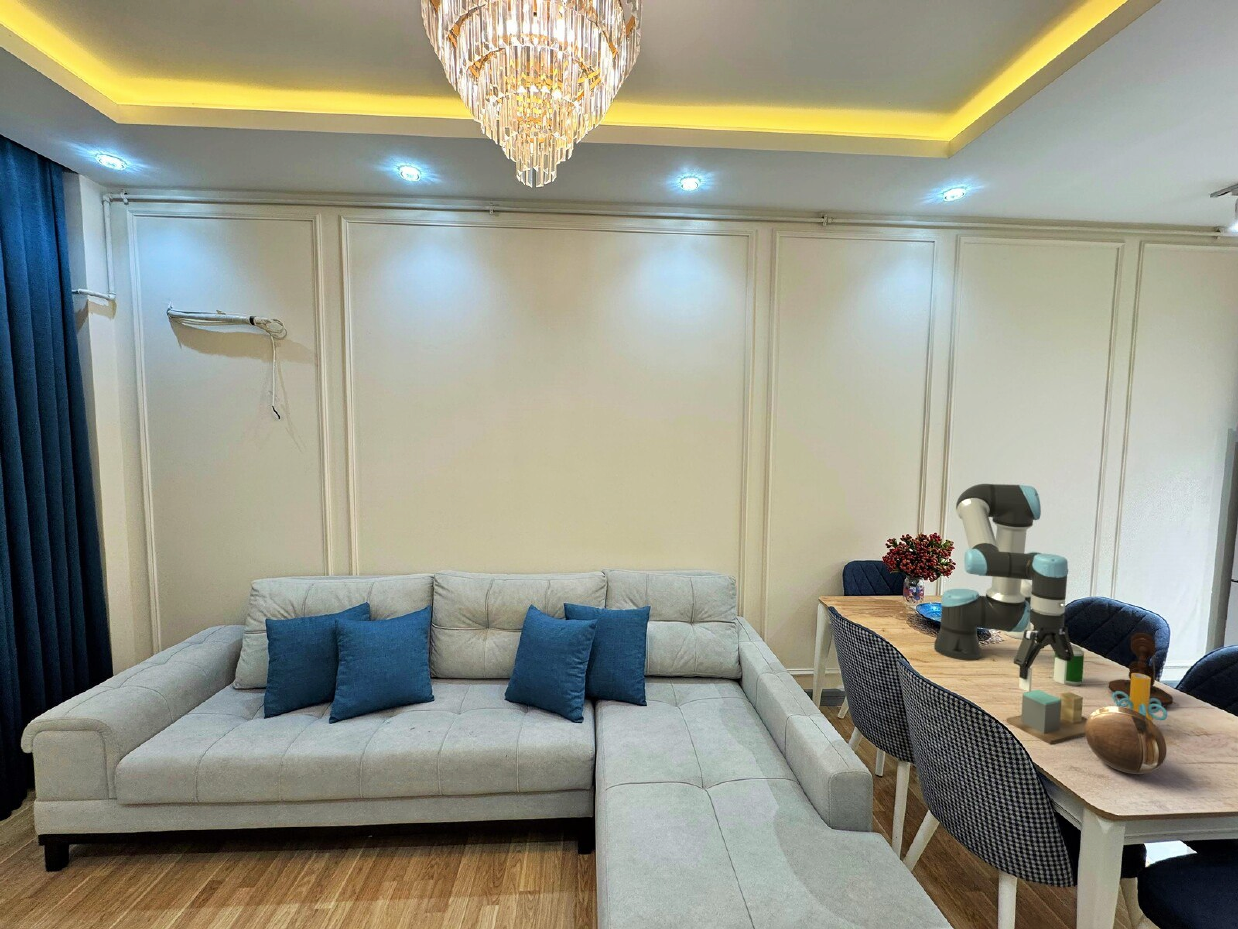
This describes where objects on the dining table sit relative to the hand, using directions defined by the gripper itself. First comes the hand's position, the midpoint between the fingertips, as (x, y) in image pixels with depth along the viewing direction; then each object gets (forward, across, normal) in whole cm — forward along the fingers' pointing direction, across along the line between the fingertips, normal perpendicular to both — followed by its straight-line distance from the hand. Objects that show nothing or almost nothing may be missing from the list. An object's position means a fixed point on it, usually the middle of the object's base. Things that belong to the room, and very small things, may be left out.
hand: (1042, 685), depth 156 cm
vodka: (+14, +64, +53) cm, 84 cm away
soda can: (+13, +39, +18) cm, 44 cm away
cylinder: (+13, +27, -8) cm, 31 cm away
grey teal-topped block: (+11, 0, 0) cm, 11 cm away
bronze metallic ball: (+12, +1, -19) cm, 23 cm away
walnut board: (+12, +6, 0) cm, 14 cm away
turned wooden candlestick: (+13, +48, +3) cm, 49 cm away
